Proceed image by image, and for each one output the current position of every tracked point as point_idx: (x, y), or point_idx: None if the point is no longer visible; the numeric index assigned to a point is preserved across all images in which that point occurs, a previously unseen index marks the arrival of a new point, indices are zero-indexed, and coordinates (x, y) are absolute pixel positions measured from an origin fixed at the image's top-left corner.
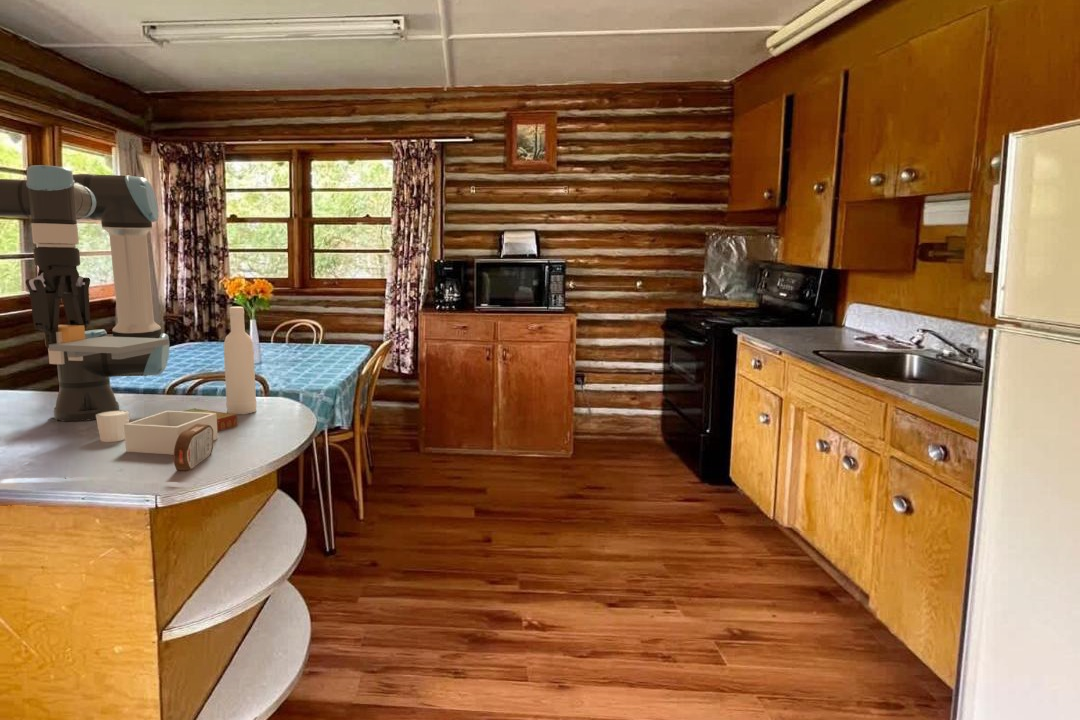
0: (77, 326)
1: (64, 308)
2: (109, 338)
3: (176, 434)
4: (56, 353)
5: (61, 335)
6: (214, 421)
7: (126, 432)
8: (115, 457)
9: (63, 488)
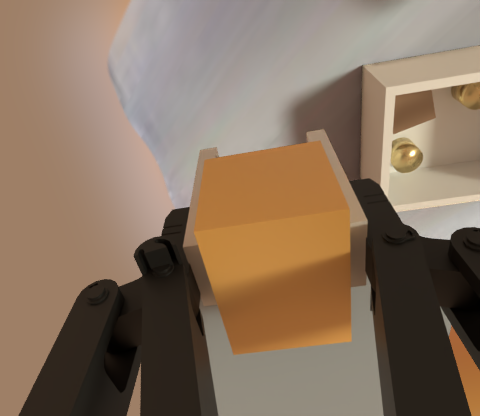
0: (297, 347)
1: (388, 365)
2: None
3: None
4: None
5: None
6: None
7: (379, 85)
8: (340, 58)
9: (159, 142)
